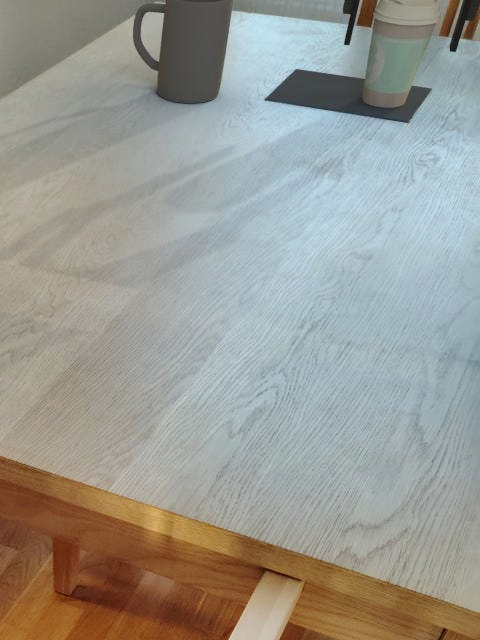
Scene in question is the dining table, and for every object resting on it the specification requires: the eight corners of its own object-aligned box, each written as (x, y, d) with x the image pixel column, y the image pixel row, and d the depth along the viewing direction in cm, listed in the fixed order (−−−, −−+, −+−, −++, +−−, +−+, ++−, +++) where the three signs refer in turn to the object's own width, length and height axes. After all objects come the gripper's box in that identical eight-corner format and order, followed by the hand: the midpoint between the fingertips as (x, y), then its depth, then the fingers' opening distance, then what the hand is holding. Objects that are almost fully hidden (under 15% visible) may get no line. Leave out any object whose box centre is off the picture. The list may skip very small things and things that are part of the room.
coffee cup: (359, 87, 130) (385, -13, 121) (420, 96, 127) (451, -6, 118) (344, 105, 125) (370, 3, 116) (407, 115, 122) (438, 10, 113)
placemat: (431, 89, 129) (432, 88, 129) (408, 122, 121) (408, 121, 121) (295, 69, 136) (296, 68, 136) (264, 99, 127) (264, 98, 127)
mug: (227, 87, 131) (242, -12, 122) (208, 107, 126) (223, 5, 117) (139, 76, 135) (147, -21, 126) (117, 95, 130) (125, -5, 121)
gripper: (567, -167, 105) (496, 43, 121) (346, -170, 110) (306, 32, 126) (574, -159, 100) (499, 60, 116) (343, -162, 105) (302, 47, 121)
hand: (399, 46), depth 121 cm, fingers open, 13 cm apart
